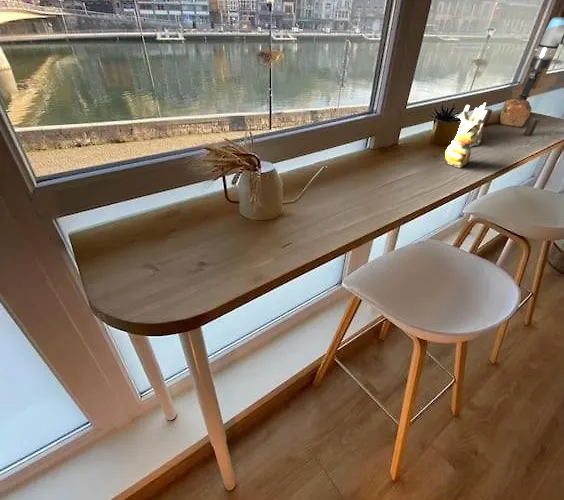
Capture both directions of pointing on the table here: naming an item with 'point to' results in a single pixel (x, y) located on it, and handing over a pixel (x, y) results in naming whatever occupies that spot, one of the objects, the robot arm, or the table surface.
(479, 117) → the white pronged sculpture
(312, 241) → the table surface
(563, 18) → the robot arm
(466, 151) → the decorative figurine
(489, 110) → the dark brown pieces
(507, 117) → the bread
